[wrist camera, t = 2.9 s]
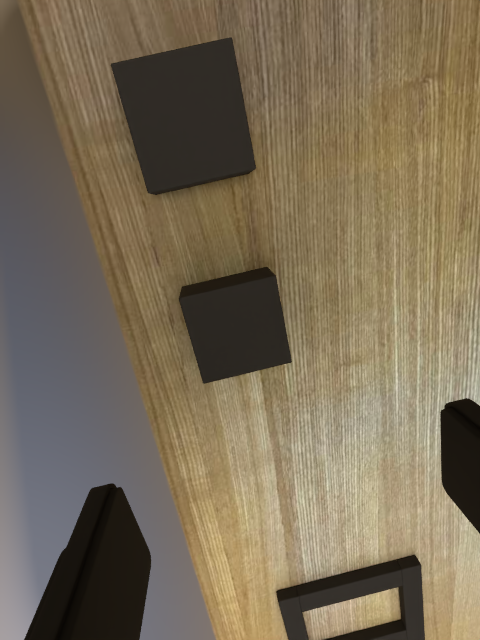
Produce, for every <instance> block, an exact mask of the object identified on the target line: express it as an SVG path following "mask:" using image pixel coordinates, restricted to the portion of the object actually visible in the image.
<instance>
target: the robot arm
mask: <svg viewBox="0 0 480 640" xmlns="http://www.w3.org/2000/svg"><path fill="white" fill-rule="evenodd" d="M440 415H441V471H442V484H443V487H444V489H445V491H446V493H447V494H448V495H449V497H450V498H451V499H452V500H453V501H454V503H455V504H456V505H457V506H458V508H459V509H460V510H461V511H462V512H463V514H464V515H465V516H466V517H467V519H468V520H469V521H470V522H471V523H472V525H473V526H474V527H475V528H476V530H477V531H478V532H479V533H480V406H479V405H478V404H476V403H475V402H474V401H472V400H470V399H467V398H466V399H462V400H458V401H453V402H449V403H447V404H446V405H445V409H443V410H442V411H441V414H440ZM150 569H151V555H150V551H149V549H148V546H147V544H146V542H145V539H144V537H143V535H142V533H141V531H140V528H139V526H138V523H137V521H136V519H135V517H134V514H133V512H132V510H131V507H130V505H129V503H128V501H127V498H126V496H125V494H124V492H123V489H122V488H121V487H118V488H117V487H116V486H115V485H114V484H107V485H103V486H99V487H95V488H92V489H91V490H90V492H89V494H88V497H87V499H86V501H85V503H84V506H83V508H82V511H81V513H80V516H79V518H78V520H77V523H76V526H75V528H74V530H73V533H72V535H71V538H70V540H69V542H68V545H67V547H66V548H65V549H64V550H63V551H62V553H61V555H60V556H59V559H58V561H57V563H56V565H55V568H54V570H53V573H52V575H51V577H50V580H49V582H48V585H47V587H46V589H45V592H44V594H43V596H42V599H41V601H40V604H39V606H38V608H37V611H36V613H35V615H34V618H33V620H32V623H31V625H30V627H29V630H28V632H27V634H26V637H25V639H24V640H139V638H140V632H141V626H142V619H143V613H144V606H145V600H146V594H147V588H148V581H149V575H150Z"/></svg>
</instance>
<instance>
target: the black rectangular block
mask: <svg viewBox="0 0 480 640" xmlns="http://www.w3.org/2000/svg"><path fill="white" fill-rule="evenodd" d="M111 67H112V70H113V74H114V77H115V81H116V84H117V88H118V91H119V94H120V98H121V101H122V105H123V108H124V112H125V115H126V119H127V122H128V125H129V129H130V132H131V136H132V139H133V143H134V146H135V150H136V153H137V156H138V160H139V163H140V167H141V170H142V174H143V177H144V181H145V184H146V188H147V191H148V193H150V194H155V195H157V194H162V193H166V192H170V191H175V190H179V189H183V188H188V187H192V186H196V185H201V184H205V183H209V182H214V181H218V180H223V179H227V178H231V177H236V176H240V175H244V174H249V173H250V172H252V171H253V170H255V169H256V165H255V160H254V154H253V149H252V144H251V138H250V133H249V127H248V122H247V116H246V111H245V106H244V100H243V95H242V89H241V84H240V78H239V73H238V68H237V62H236V57H235V51H234V46H233V40H232V38H231V37H230V38H226V39H221V40H217V41H212V42H207V43H203V44H198V45H194V46H189V47H185V48H180V49H176V50H171V51H167V52H162V53H158V54H153V55H148V56H144V57H139V58H135V59H130V60H126V61H121V62H117V63H112V64H111Z"/></svg>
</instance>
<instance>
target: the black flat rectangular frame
mask: <svg viewBox="0 0 480 640" xmlns="http://www.w3.org/2000/svg"><path fill="white" fill-rule="evenodd" d="M396 587H399V595H400V606H401V618H402V620H399V621H396V622H392V623H388V624H384V625H380V626H377V627H373V628H369V629H365V630H362V631H358V632H354V633H350V634H346V635H343V636H339V637H335V638H331V639H327V640H425V633H424V613H423V594H422V574H421V564H420V562H419V561H418V559H417V557H416V556H415V555H414V556H411V557H407V558H403V559H399V560H397V561H396V560H395V561H391V562H387V563H384V564H380V565H376V566H372V567H368V568H364V569H360V570H357V571H353V572H349V573H345V574H341V575H337V576H333V577H329V578H326V579H322V580H318V581H314V582H310V583H306V584H302V585H299V586H296V587H292V588H288V589H284V590H280V591H277V598H278V602H279V606H280V610H281V614H282V617H283V621H284V625H285V628H286V632H287V636H288V639H289V640H309V639H308V635H307V631H306V627H305V623H304V618H303V614H302V612H304V611H308V610H312V609H316V608H320V607H323V606H327V605H331V604H335V603H339V602H343V601H346V600H350V599H354V598H358V597H362V596H365V595H369V594H373V593H377V592H381V591H385V590H388V589H392V588H396Z"/></svg>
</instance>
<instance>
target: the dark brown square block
mask: <svg viewBox="0 0 480 640" xmlns="http://www.w3.org/2000/svg"><path fill="white" fill-rule="evenodd" d="M179 301H180V305H181V308H182V312H183V315H184V319H185V322H186V325H187V329H188V332H189V336H190V339H191V343H192V346H193V350H194V353H195V356H196V360H197V363H198V367H199V370H200V374H201V377H202V381H203V383H204V384H205V383H209V382H213V381H217V380H221V379H225V378H229V377H233V376H238V375H242V374H246V373H250V372H254V371H258V370H262V369H266V368H270V367H275V366H279V365H283V364H287V363H291V362H292V361H291V355H290V350H289V344H288V339H287V334H286V328H285V323H284V317H283V312H282V306H281V301H280V296H279V290H278V285H277V279H276V275H275V274H274V273H273V272H272V271H271V270H270V269H269V268H268V267H264V268H260V269H255V270H251V271H247V272H243V273H239V274H234V275H230V276H226V277H222V278H217V279H213V280H209V281H205V282H201V283H196V284H192V285H188V286H184V287H182V289H181V292H180V296H179Z"/></svg>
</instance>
